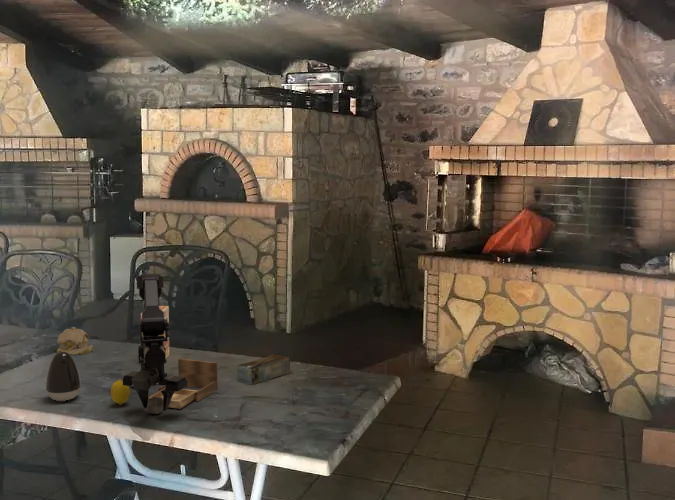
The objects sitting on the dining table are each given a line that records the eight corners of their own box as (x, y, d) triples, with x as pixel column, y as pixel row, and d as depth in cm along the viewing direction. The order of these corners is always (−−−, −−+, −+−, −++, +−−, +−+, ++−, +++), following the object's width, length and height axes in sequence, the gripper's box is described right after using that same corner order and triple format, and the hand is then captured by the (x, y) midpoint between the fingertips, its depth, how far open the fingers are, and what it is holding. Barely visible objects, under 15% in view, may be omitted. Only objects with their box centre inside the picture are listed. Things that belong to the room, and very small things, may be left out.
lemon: (113, 402, 209) (112, 377, 208) (131, 401, 209) (131, 376, 208) (109, 408, 203) (108, 382, 202) (127, 407, 204) (127, 382, 203)
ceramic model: (50, 355, 261) (49, 329, 260) (64, 347, 272) (63, 323, 271) (85, 356, 260) (84, 330, 259) (98, 348, 271) (97, 324, 270)
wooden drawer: (136, 411, 200) (135, 398, 199) (166, 393, 216) (166, 381, 215) (169, 415, 196) (169, 402, 196) (198, 397, 212) (197, 385, 212)
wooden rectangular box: (236, 381, 231) (236, 362, 230) (276, 369, 245) (276, 352, 244) (251, 386, 226) (251, 367, 225) (291, 373, 240) (291, 356, 239)
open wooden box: (158, 397, 214) (157, 369, 212) (180, 384, 226) (179, 358, 225) (197, 401, 209) (197, 373, 208) (217, 389, 222) (217, 362, 221)
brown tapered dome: (47, 406, 204) (45, 357, 202) (45, 396, 213) (43, 349, 212) (83, 401, 209) (81, 353, 207) (79, 391, 218) (77, 345, 216)
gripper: (109, 362, 193) (111, 414, 194) (167, 368, 187) (168, 422, 189) (132, 352, 203) (134, 402, 205) (187, 358, 198) (188, 409, 199)
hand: (155, 409), depth 199 cm, fingers open, 6 cm apart
